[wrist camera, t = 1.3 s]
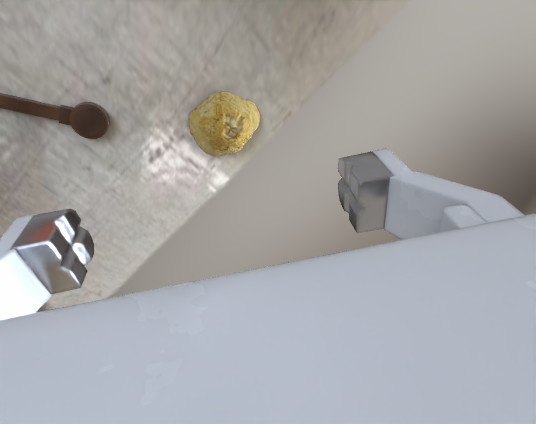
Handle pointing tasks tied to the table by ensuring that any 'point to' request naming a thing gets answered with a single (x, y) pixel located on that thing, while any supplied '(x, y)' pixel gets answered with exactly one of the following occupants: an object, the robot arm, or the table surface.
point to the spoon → (64, 114)
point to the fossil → (223, 123)
